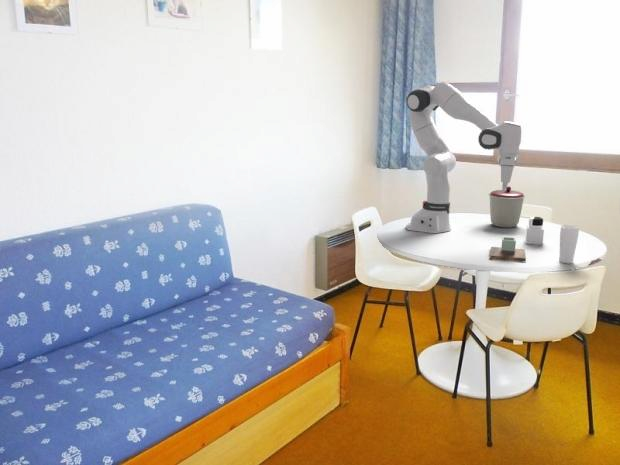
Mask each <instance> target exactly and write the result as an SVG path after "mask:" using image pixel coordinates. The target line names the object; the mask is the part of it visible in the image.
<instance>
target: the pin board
mask: <svg viewBox="0 0 620 465" xmlns="http://www.w3.org/2000/svg"><path fill="white" fill-rule="evenodd" d="M501 247H502V246H501ZM501 247H500V246H499V247H498V246H490V256H489V259H490V260H498V259H500V260H501V261H509V260H511V261H512V260H513V261H512V262H521V261H525V262H526V259H527V257H526V250H525V249H524V248H515V255H513V254H501ZM500 260H499V261H500ZM511 261H510V262H511Z"/></svg>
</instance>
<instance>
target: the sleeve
mask: <svg viewBox="0 0 620 465" xmlns="http://www.w3.org/2000/svg"><path fill="white" fill-rule="evenodd" d="M516 245H517V240H516V237H508V236H507V237H506V236H502V238H501V254H513V255H515V249H516Z"/></svg>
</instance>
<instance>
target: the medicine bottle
mask: <svg viewBox="0 0 620 465" xmlns="http://www.w3.org/2000/svg"><path fill="white" fill-rule="evenodd" d="M543 225H544V219H543V218H542V217H540V216H531V217H529V219H528V225H527V226H526V232H525V243H526V245H527V244H529V245H540V246H543V244H544V234H545V229H544V226H543Z"/></svg>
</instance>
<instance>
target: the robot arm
mask: <svg viewBox="0 0 620 465" xmlns="http://www.w3.org/2000/svg"><path fill="white" fill-rule="evenodd" d="M406 106H407V108H408V109H409V110H410V112H409V114H408V118H409V123H410V127H411V129H412V131H413V133H414V136H415V138H416V140H417V143H418V146H419V147H420V149H421V150H423V151H424V152H425V154H426V155H427V158H426V159H425V160H424V161H423V167H422V168H423V171H424V172H425V178H426V186H427V187H426V188H427V193H426V200H423V201H422V208H421V209H420V210H418V211H416V212H415V213H414V214H413V215H412V217H411V219H410V222H408V223H407V224H406V226H405V229H406V230H408V231H413V232H414V231H415V232H421V233H423V232H424V233H431V234H439V233H445V232H450V231H451V230H452V228H451V224H450V211H451V202H450V193H451V186H450V183H449V178H448V173H450V172H452V171H453V170H454V168H455V166H456V164H457V159H456V156H455V155H454V153H452V152H451V151H450V149H449V147H448V146H447V144H446V143H445V141H444V140H443V138H442V136H441V135H440V132H439V129H438V127H437V126H436V123H435V121H434V118H433V117H432V112H433V111H436V110H437V109H438V108H441V110H442V111H444V113H446V114H447V115H448V116H450V117H451V118H453V119H455V120H460V121H466V122H468V123H469V122H470V123H471V124H473V125H475V126H476V127H477V128H478V129H480V130H481V131H480V133H479V134H478V144H479V146H480V147H481V148H482V149H483V150H489V151H490V150H496V149H497V161H496V162H497V163H498V164H499V167H500V182H501V183H502V185H501V186H502V188H501V190H502V191H504V192H506V190H507V186H509V185H508V184H509V183H510V182H511V179H512V176H513V172H514V168H515V166H516V165H517V164H519V158H520V146H521V142H522V141H521V140H522V127H521V125H520V124H519V123H518V122H514V121H508V120H506V121H505V120H504V121H503V122H502V123H500V124H497V123H496V122H495V121H493V119H491V118H490V117H489V116H487V115H486V114H485V113H484V112H483V111H482V110H480V109H478V108H477V107H476V105H475V104H473V103H472V102H471V101H470V100H469V99H468V98H467V97H466V96H465V95H464V94H463V93H462V92H461V91H459V90H458V89H457V88H456V87H454V86H453V85H452V84H450V83H448V82H446V81H441V82H439V83H437V84H436V85H435V84H431V85H426V86H422V87H421V88H418V89H414V90H412V91H410V92H409V93H408V94H407V96H406Z"/></svg>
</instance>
